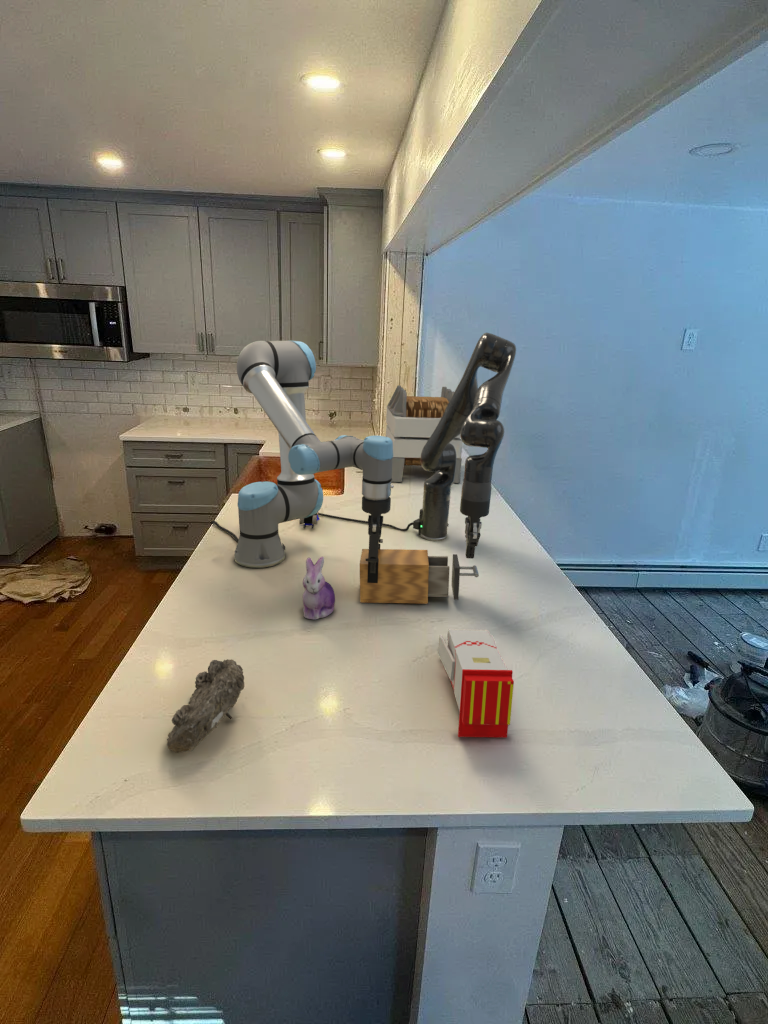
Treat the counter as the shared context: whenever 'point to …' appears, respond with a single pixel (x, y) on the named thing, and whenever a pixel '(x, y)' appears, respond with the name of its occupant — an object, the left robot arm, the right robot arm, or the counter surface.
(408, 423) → the transformer
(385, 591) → the zigzag wood grain block
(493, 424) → the right robot arm
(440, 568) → the drawer
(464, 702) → the toy
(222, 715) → the fossil
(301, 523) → the figurine character
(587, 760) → the counter surface
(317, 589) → the figurine
